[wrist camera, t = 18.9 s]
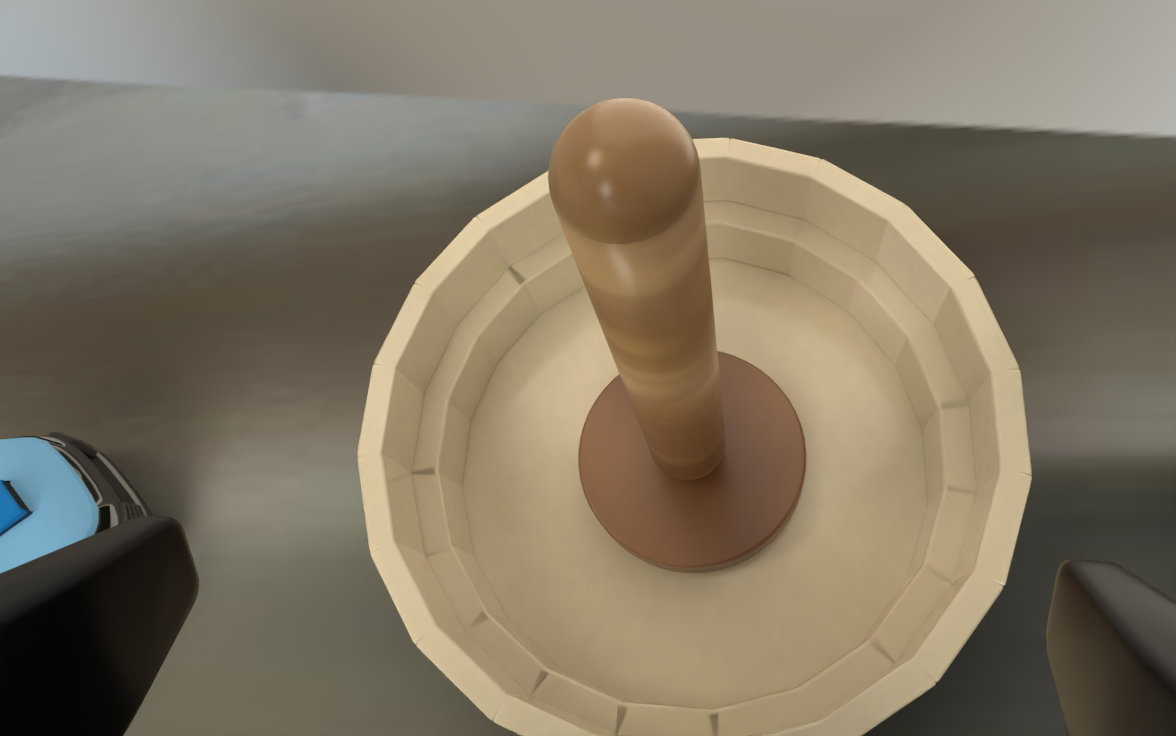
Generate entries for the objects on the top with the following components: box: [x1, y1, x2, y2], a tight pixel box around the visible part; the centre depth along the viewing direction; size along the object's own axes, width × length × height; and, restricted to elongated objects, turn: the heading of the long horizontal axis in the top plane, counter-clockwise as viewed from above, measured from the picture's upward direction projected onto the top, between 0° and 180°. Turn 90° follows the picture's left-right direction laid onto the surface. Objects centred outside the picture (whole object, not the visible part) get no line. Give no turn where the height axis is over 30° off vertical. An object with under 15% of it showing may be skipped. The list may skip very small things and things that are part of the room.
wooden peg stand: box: [548, 98, 806, 573], centre depth 16 cm, size 6×6×14 cm
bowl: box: [357, 138, 1032, 736], centre depth 20 cm, size 14×14×4 cm
